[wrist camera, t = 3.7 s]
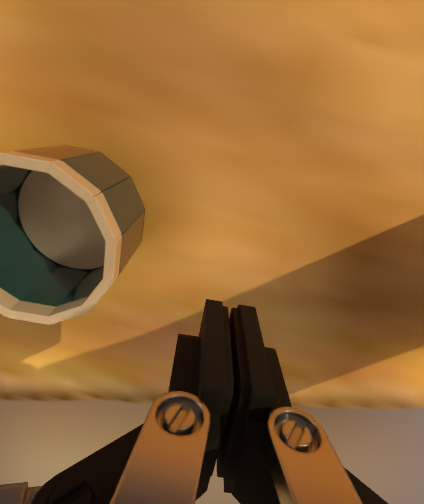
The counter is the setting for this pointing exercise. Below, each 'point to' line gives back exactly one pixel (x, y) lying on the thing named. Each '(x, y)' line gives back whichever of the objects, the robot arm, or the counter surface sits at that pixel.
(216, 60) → the counter surface
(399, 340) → the counter surface
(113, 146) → the counter surface
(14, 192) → the teal cup
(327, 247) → the counter surface
